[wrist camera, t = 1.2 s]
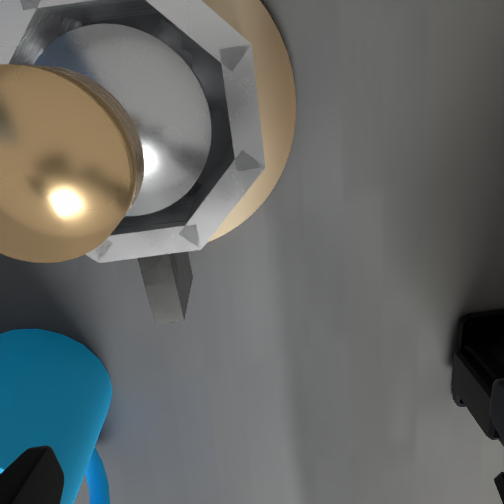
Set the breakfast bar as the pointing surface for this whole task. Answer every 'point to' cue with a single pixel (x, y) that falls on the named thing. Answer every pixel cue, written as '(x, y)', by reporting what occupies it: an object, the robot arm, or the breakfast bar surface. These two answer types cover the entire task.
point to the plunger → (95, 139)
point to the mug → (54, 406)
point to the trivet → (263, 99)
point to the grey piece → (223, 127)
